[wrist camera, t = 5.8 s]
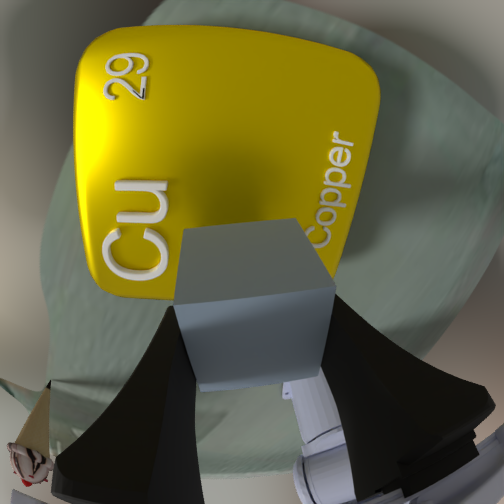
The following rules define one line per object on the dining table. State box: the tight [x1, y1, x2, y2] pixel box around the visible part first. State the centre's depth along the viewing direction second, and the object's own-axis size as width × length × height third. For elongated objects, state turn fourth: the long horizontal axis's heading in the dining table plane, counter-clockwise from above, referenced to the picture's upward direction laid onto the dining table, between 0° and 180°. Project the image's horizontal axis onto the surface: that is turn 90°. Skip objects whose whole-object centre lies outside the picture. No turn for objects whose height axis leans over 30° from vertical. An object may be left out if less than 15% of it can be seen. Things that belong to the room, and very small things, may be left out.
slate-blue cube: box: [173, 218, 336, 392], centre depth 11 cm, size 4×4×4 cm
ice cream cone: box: [7, 380, 54, 487], centre depth 19 cm, size 6×6×15 cm
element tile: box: [73, 25, 381, 300], centre depth 15 cm, size 15×15×5 cm
